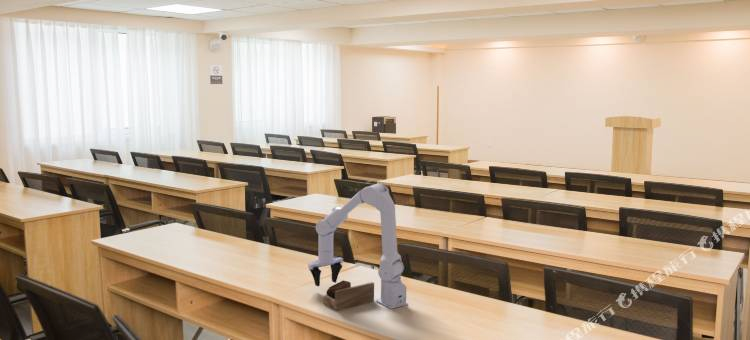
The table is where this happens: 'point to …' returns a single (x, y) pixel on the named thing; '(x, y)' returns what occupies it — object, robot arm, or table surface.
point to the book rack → (351, 296)
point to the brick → (337, 288)
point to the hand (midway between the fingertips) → (325, 283)
